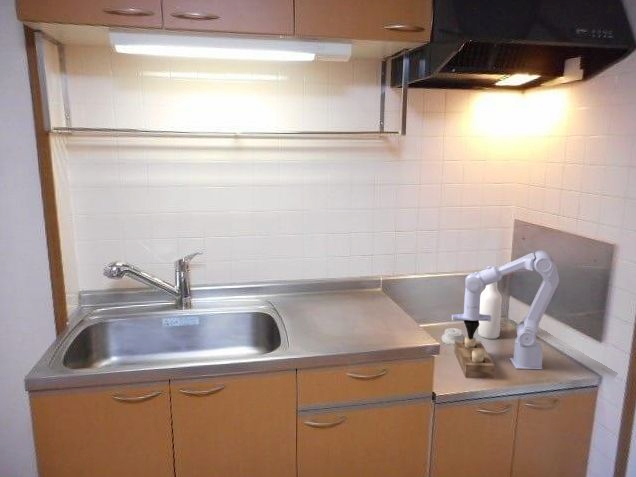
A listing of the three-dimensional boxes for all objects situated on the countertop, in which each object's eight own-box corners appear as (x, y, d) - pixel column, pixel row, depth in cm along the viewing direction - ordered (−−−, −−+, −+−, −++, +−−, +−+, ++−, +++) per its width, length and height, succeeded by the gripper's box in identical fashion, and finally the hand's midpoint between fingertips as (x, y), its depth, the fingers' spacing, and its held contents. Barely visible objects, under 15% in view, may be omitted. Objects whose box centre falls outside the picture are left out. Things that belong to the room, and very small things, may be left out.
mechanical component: (469, 339, 196) (447, 333, 203) (469, 330, 195) (447, 324, 202) (460, 348, 189) (437, 341, 195) (460, 338, 188) (438, 332, 194)
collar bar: (479, 352, 184) (480, 341, 183) (493, 378, 164) (494, 365, 163) (454, 352, 185) (454, 340, 184) (465, 377, 165) (466, 364, 164)
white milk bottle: (484, 329, 206) (487, 265, 199) (503, 335, 199) (507, 269, 193) (474, 335, 200) (477, 269, 193) (493, 341, 194) (497, 273, 187)
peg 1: (473, 347, 181) (474, 336, 180) (476, 352, 178) (476, 340, 177) (463, 347, 182) (463, 336, 181) (465, 351, 178) (466, 340, 177)
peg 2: (481, 361, 170) (482, 350, 169) (484, 367, 166) (485, 355, 165) (470, 361, 170) (471, 349, 169) (473, 366, 166) (473, 354, 165)
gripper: (488, 301, 179) (486, 333, 182) (450, 301, 180) (449, 333, 183) (493, 308, 172) (491, 341, 175) (454, 307, 173) (452, 340, 176)
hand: (470, 337), depth 179 cm, fingers closed
